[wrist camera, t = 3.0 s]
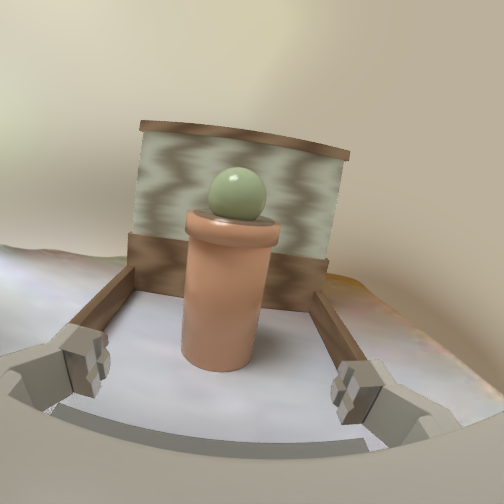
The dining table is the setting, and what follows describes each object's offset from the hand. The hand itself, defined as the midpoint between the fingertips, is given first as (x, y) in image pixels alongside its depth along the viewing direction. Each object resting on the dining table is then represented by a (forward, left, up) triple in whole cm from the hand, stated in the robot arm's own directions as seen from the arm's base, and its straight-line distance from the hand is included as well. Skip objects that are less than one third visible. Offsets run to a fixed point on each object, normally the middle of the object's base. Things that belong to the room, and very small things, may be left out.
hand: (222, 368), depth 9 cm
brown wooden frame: (0, +16, -9) cm, 18 cm away
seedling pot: (0, +14, -9) cm, 17 cm away
